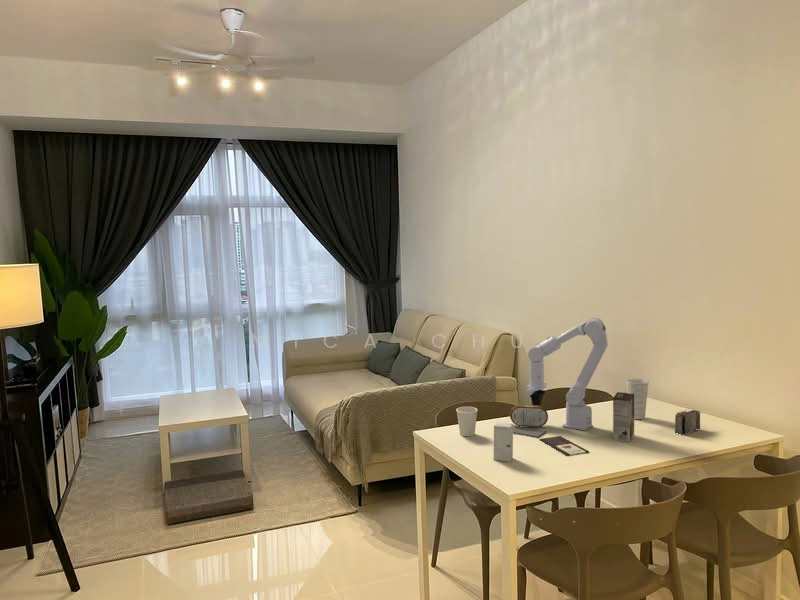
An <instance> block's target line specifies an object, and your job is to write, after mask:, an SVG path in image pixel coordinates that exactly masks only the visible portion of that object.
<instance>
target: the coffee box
mask: <svg viewBox="0 0 800 600" xmlns="http://www.w3.org/2000/svg"><path fill="white" fill-rule="evenodd" d="M612 402H613V403H612V404H613V405H612V408H613V409H612V412H613V413H612V414H613V415H612V440H613V441H618V440H619V441H618V442H625V441H627V442H626V443H631V442H632V440H633V438H634V436H635V419H634V394H629V393H628V392H621V391H618V392H616V393H615V395H614V396H613V398H612Z"/></svg>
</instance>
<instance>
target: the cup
mask: <svg viewBox="0 0 800 600" xmlns="http://www.w3.org/2000/svg"><path fill="white" fill-rule="evenodd" d="M626 388H627V389H626V391H627V392H626V393H629V394H634V420H635V419H643V420H645V419H646V412H647V411H646V410H647V401H648V390H649V381H648V380H647V379H642V378H630V379H629V378H628V379H626Z"/></svg>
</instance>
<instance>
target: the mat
mask: <svg viewBox="0 0 800 600" xmlns="http://www.w3.org/2000/svg"><path fill="white" fill-rule="evenodd" d="M513 433H514V434H515V435H520V436H524V435H525V437H529V436H530V437H531V438H535V437H536V439H538V438H540V437H542V436H543V435H545V434H546V433H547V430H544V429H537V428H534V427H532V428H531V427H528V426H517V425H515V424H513ZM544 433H545V434H544ZM514 434H513V435H514ZM541 435H542V436H541Z"/></svg>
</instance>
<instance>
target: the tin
mask: <svg viewBox="0 0 800 600" xmlns="http://www.w3.org/2000/svg"><path fill="white" fill-rule="evenodd" d="M509 419H510V420H511V422H512V424H513V425H516V426H521V427H528V428H531V427H532V428H540V427H544V426H545V425H546V424H547V422H548V420H549V414H548V411H547V410H546V409H545V407H543V406H542V405H541V406H538V405H533V404H516V405H513V407H512V408H511V409H510V410H509Z"/></svg>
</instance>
